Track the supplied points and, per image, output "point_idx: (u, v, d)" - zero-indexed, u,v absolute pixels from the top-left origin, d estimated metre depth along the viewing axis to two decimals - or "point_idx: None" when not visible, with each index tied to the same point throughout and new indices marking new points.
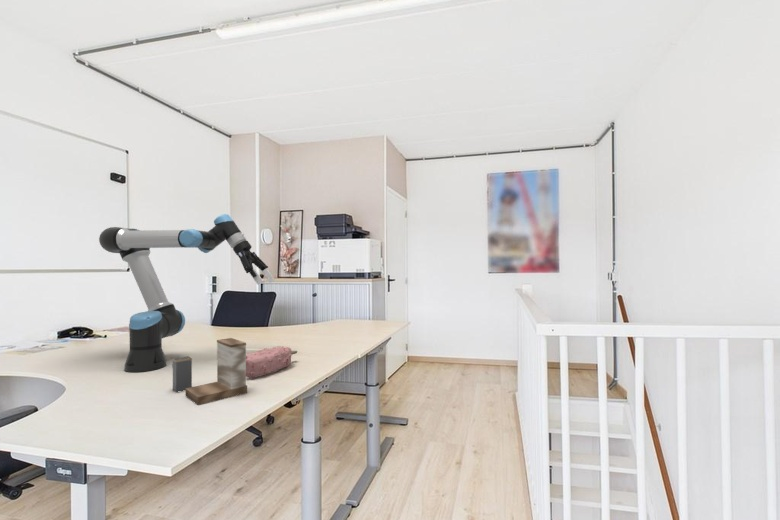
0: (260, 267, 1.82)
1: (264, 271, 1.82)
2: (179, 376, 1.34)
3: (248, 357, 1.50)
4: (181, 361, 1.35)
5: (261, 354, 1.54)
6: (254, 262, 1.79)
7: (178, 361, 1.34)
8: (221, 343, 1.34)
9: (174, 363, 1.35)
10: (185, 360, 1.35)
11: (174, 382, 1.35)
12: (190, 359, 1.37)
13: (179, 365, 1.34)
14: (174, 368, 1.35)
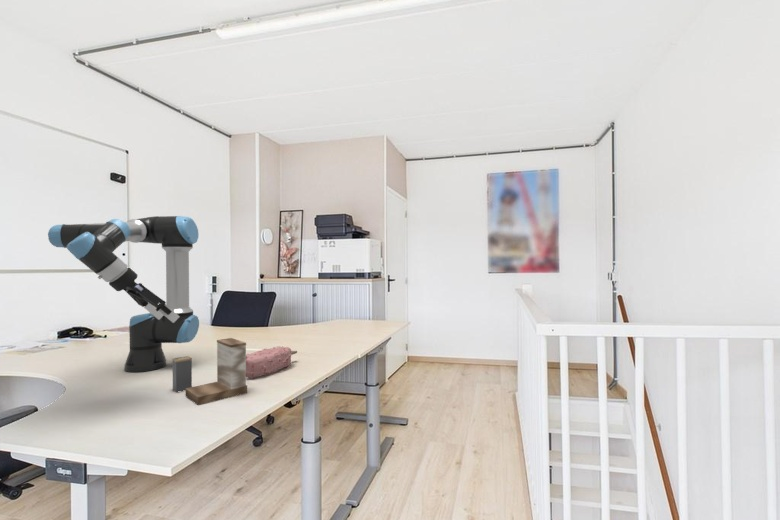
0: None
1: None
2: (179, 376, 1.34)
3: (248, 357, 1.50)
4: (181, 361, 1.35)
5: (261, 354, 1.54)
6: None
7: (178, 361, 1.34)
8: (221, 343, 1.34)
9: (174, 363, 1.35)
10: (185, 360, 1.35)
11: (174, 382, 1.35)
12: (190, 359, 1.37)
13: (179, 365, 1.34)
14: (174, 368, 1.35)
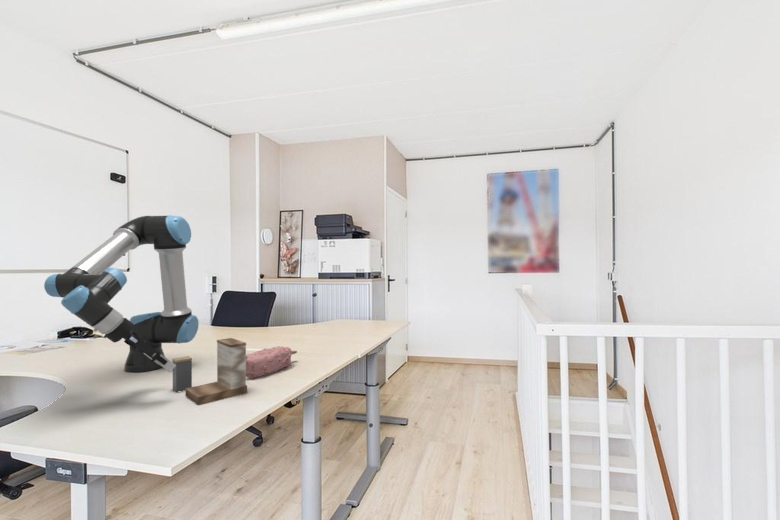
0: None
1: None
2: (179, 376, 1.34)
3: (248, 357, 1.50)
4: (181, 361, 1.35)
5: (261, 354, 1.54)
6: None
7: (178, 361, 1.34)
8: (221, 343, 1.34)
9: (174, 363, 1.35)
10: (185, 360, 1.35)
11: (174, 382, 1.35)
12: (190, 359, 1.37)
13: (179, 365, 1.34)
14: (174, 368, 1.35)
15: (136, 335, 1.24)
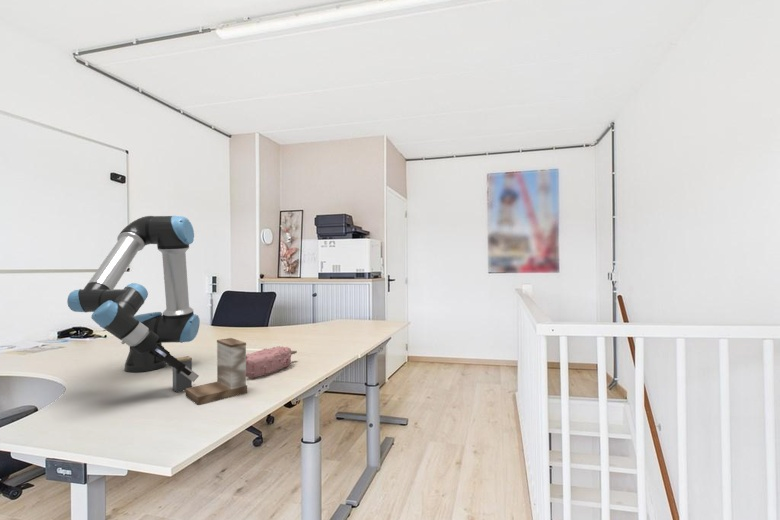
0: None
1: None
2: (179, 376, 1.34)
3: (248, 357, 1.50)
4: (181, 361, 1.35)
5: (261, 354, 1.54)
6: None
7: None
8: (221, 343, 1.34)
9: None
10: (185, 360, 1.35)
11: (174, 382, 1.35)
12: (190, 359, 1.37)
13: None
14: (174, 368, 1.35)
15: (162, 347, 1.30)
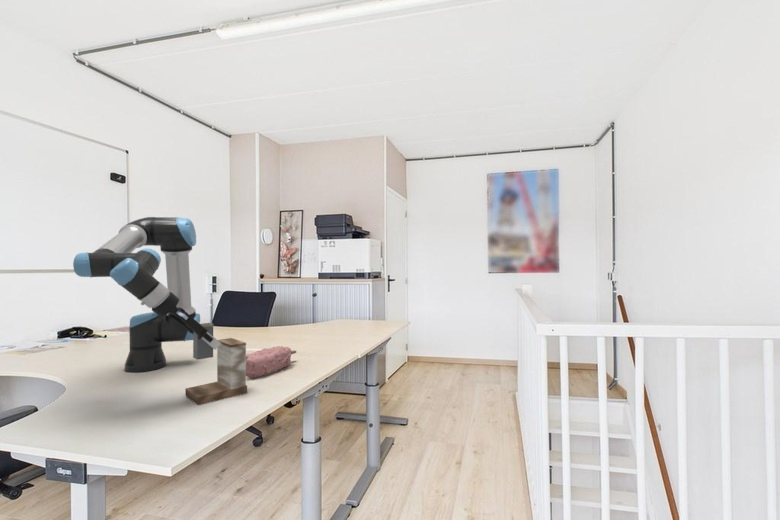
0: None
1: None
2: (201, 343, 1.26)
3: (248, 357, 1.50)
4: None
5: (261, 354, 1.54)
6: None
7: None
8: (221, 343, 1.34)
9: None
10: (206, 326, 1.28)
11: (195, 349, 1.27)
12: (212, 325, 1.29)
13: None
14: (195, 334, 1.27)
15: (183, 311, 1.23)
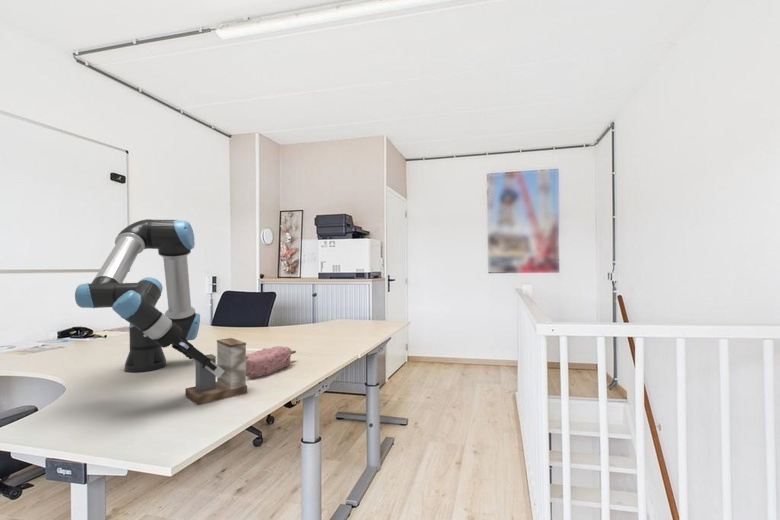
0: None
1: None
2: (203, 376, 1.26)
3: (249, 357, 1.50)
4: None
5: (261, 354, 1.54)
6: None
7: None
8: (221, 343, 1.34)
9: (197, 361, 1.27)
10: None
11: (197, 382, 1.27)
12: (214, 357, 1.29)
13: None
14: (197, 367, 1.27)
15: (185, 340, 1.22)
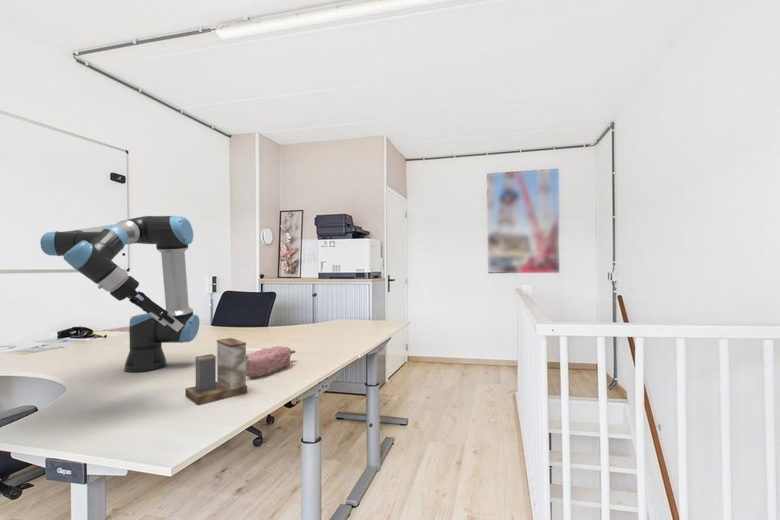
0: None
1: None
2: (203, 376, 1.26)
3: (249, 357, 1.50)
4: (205, 359, 1.27)
5: (262, 354, 1.54)
6: None
7: (202, 359, 1.26)
8: (221, 343, 1.34)
9: (197, 361, 1.27)
10: (209, 358, 1.28)
11: (197, 382, 1.27)
12: (214, 357, 1.29)
13: (203, 364, 1.26)
14: (197, 367, 1.27)
15: None
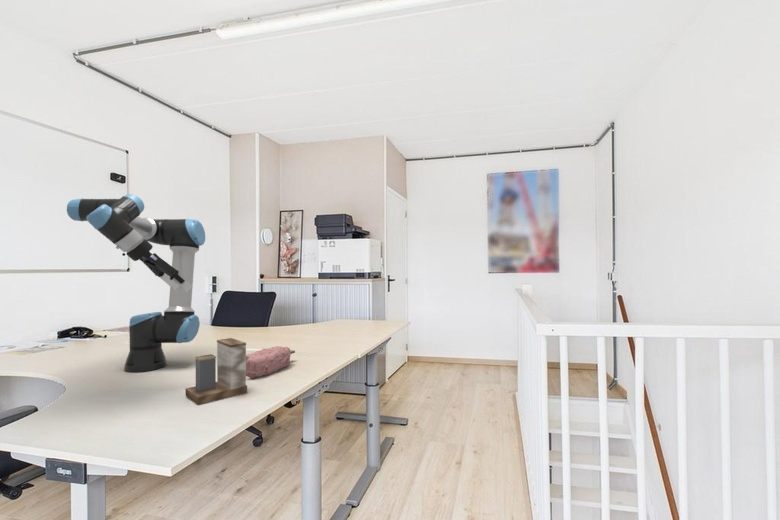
0: None
1: None
2: (203, 376, 1.26)
3: (249, 357, 1.50)
4: (205, 359, 1.27)
5: (262, 354, 1.54)
6: None
7: (202, 359, 1.26)
8: (221, 343, 1.34)
9: (197, 361, 1.27)
10: (209, 358, 1.28)
11: (197, 382, 1.27)
12: (214, 357, 1.29)
13: (203, 364, 1.26)
14: (197, 367, 1.27)
15: None
